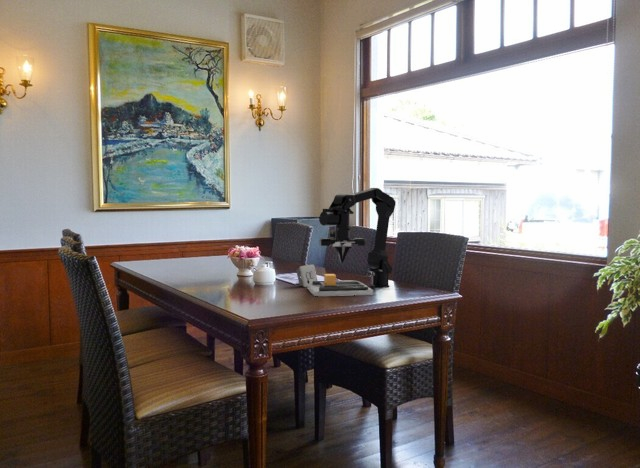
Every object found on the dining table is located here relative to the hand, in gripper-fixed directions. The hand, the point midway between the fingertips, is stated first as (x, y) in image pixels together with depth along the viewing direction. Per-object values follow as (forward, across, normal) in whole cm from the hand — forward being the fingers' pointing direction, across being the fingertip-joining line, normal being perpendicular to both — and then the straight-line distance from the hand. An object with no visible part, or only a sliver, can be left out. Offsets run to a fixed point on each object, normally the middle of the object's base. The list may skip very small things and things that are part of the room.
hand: (341, 262), depth 233 cm
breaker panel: (+12, +1, 0) cm, 12 cm away
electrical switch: (+12, +12, -17) cm, 24 cm away
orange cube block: (+10, +5, 0) cm, 11 cm away
